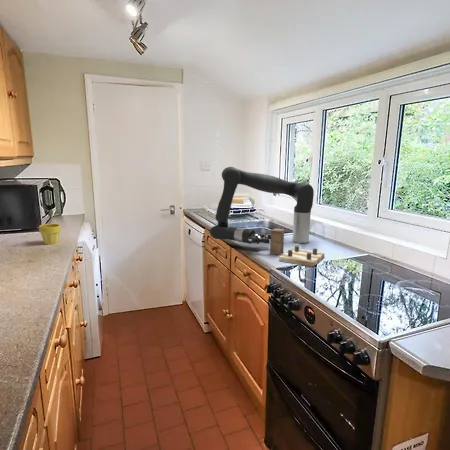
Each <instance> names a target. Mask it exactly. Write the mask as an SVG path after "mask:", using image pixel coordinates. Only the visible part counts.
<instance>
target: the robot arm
mask: <svg viewBox="0 0 450 450" xmlns="http://www.w3.org/2000/svg"><path fill="white" fill-rule="evenodd" d="M221 178H222V180H223V188H222V189H223V191H222V194H221V196H220V199H219V203H218V205H217V210H216V212H215V221H217V224H216V225H214V226H212V227H211V228H210V229H209V234H210V237H211V238H214V239H216V240H230V241H235V242H239V243H245V244H250V245H251V244H262V243H263V244H267V245H268V244H270V243H271V232H269V233H268V232H257V233H256V232H255V229H251V228H246V227H245V228H244V227H232V226H230V227H229V216H230V212H231V207H232V203H233V200H234V196H235V193H236V190H237V188H238V185H243V186H247V187H250V188H252V189H254V190H257V191H260V192H265V193H269V194H279V195H280V194H282V195H288V196H290V197H293V198H296V205H295V206H294V207H293V226H292V227H293V228H292V242H294V243H299V244H307V243H309V241H310V231H311V213H312V208H313V205H314V204H313V203H314V195H315V194H314V193H315V191H314V188H313V186H312V185H311V184H309V183H306V182H296V181H288V180H285V179H282V178H279V177H278V176H277V177H276V176H274V175H271V174H270V175H269V174H265V173H259V172H258V173H257V172H250V171H245V170H242V169H238V168H236V167H235V166H228V167H225V168H224V169H223V170H222V171H221Z"/></svg>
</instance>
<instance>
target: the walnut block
mask: <svg viewBox="0 0 450 450" xmlns="http://www.w3.org/2000/svg"><path fill="white" fill-rule="evenodd" d="M270 235H271V239H270V242H269V244H270V247H269V251H270V252H269V254H270V255H271V254H272V255H276V256H281V255H283V254H284V245H285V243H284V242H285V229H282V228H273V229H271V230H270Z"/></svg>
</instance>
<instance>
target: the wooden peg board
mask: <svg viewBox="0 0 450 450" xmlns="http://www.w3.org/2000/svg"><path fill="white" fill-rule="evenodd" d="M324 258H325V252H320V251H318V248H312V250H309V249H302V248H300V246H299V245H295V246H294V247H292V248H290V249H288V250H287V251H286V252H283V253H282V254H281V255H279V258H278V259H279V260H278V261H279V262H283V263H284V262H285V263H289V264H295V265H300V266H304V267H312V268H314V267H315V266H316V265H317V264H318V263H319V262H320V261H322V260H323V259H324Z"/></svg>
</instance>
